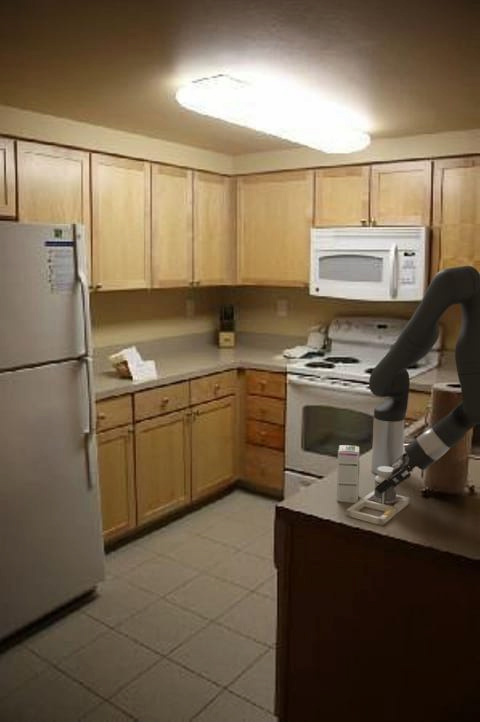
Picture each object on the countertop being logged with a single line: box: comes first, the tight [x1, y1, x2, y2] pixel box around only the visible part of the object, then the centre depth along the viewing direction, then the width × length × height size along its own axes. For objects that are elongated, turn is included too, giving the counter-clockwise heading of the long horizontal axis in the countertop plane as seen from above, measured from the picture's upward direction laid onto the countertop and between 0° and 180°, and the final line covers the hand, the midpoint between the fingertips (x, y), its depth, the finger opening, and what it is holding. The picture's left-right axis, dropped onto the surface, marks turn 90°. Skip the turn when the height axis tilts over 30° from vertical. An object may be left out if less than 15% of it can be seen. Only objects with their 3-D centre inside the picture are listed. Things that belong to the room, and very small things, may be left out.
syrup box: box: [336, 444, 360, 504], centre depth 172 cm, size 6×6×14 cm
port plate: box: [345, 489, 410, 526], centre depth 166 cm, size 18×10×2 cm, turn 144°
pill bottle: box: [373, 466, 398, 506], centre depth 169 cm, size 6×6×10 cm
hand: (378, 486), depth 170 cm, fingers closed on pill bottle, 5 cm apart
